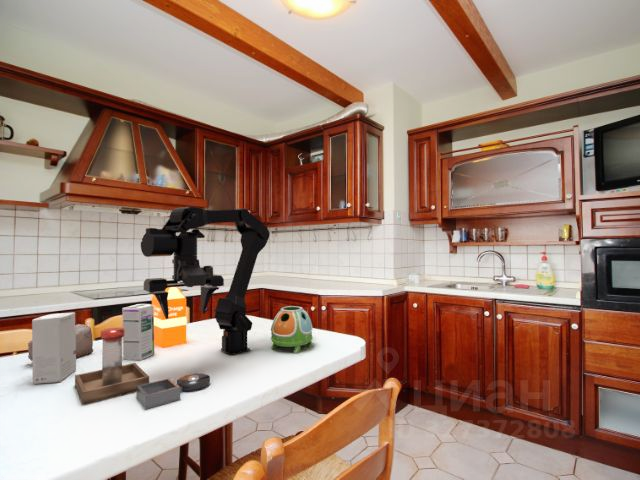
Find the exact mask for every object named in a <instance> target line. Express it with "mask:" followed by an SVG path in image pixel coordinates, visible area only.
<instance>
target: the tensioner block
mask: <svg viewBox="0 0 640 480" xmlns="http://www.w3.org/2000/svg"><path fill="white" fill-rule="evenodd" d="M210 384H211V376H210V375H209V374H207V373H204V372H201V373H200V372H198V373H197V372H196V373H189V374H185V375H183V376H180V377H178V378H177V379H176V382H175V381H174V380H173V379H172V378H170V377H168V378H164V379H159V380H156V381H151V382H149V383H147V384H142V385H138V386H136V392H135V393H136V397H135V398H136V399H137V401H138V402H139V404H140V405H141V406H142V408H143V409H144V410H148V409H152V408H156V407H159V406H162V405H166V404H169V403H172V402H176V401H179V400H181V393H183V392H184V393H191V392H192V393H193V392H198V391H201V390H204V389H206V388H208V387H209V386H210Z"/></svg>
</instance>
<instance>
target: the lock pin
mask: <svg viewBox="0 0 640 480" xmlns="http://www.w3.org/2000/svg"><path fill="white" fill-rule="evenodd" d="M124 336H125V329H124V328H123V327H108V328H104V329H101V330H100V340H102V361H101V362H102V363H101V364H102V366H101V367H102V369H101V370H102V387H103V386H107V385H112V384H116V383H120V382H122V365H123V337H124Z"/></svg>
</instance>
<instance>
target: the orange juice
mask: <svg viewBox="0 0 640 480" xmlns="http://www.w3.org/2000/svg"><path fill="white" fill-rule="evenodd" d="M166 292H169V293H168V310H169V317H168V319H166V318H165V316H164V314H163V311H162V309H161V306H160V304H159V302H158V300H157V298H156V297H155V295H153V294H152V297H151V304H152V305H153V306H154V346H155V345H156V346H157V347H159V348H161V349H165V348H171V347H175V346H180V345H184V344H187V297H186V296H185V295H184V293H183V292H182V291H181V290H180V287H169V288H167V289H166Z"/></svg>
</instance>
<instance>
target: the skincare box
mask: <svg viewBox="0 0 640 480" xmlns="http://www.w3.org/2000/svg"><path fill="white" fill-rule="evenodd" d="M75 326H76V312H64V313H63V312H61V313H60V312H59V313H50V314H46V315H43V316H42V315H41V316H39V317H36V318H34V319H32V321H31V331H32V332H31V334H32V338H31V339H32V340H31V341H32V356H33V361H32V385H36V384H37V385H38V384H52V383H54V384H55V383H61V382H62V381H64V380H65V379H66V378H67V377H69V376H70V375H71V374H73V373H75V372H76V371H77V357H76V332H75Z"/></svg>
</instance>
